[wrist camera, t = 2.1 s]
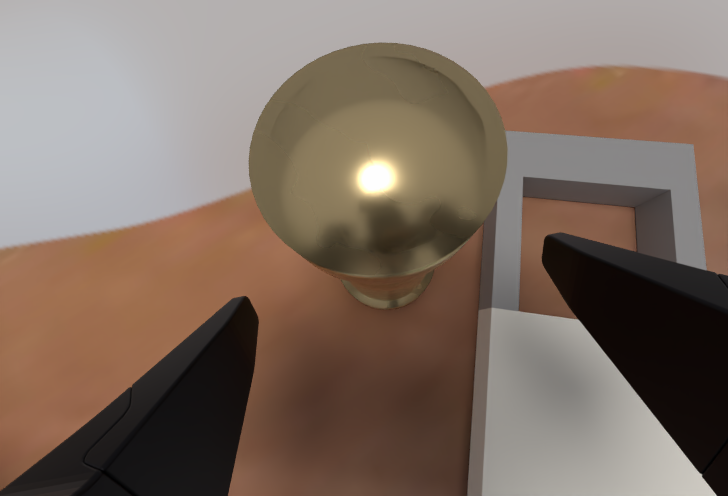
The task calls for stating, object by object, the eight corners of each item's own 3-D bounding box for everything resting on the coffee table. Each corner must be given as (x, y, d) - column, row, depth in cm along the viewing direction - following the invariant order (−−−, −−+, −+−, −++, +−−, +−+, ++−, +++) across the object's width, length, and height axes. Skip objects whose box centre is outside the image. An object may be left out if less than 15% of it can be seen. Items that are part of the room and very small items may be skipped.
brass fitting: (448, 249, 19) (555, 105, 7) (400, 328, 18) (418, 332, 6) (372, 205, 20) (340, 10, 8) (323, 277, 19) (198, 187, 7)
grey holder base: (686, 588, 14) (746, 642, 12) (464, 538, 16) (477, 577, 13) (655, 167, 19) (693, 144, 17) (488, 153, 21) (501, 130, 18)
